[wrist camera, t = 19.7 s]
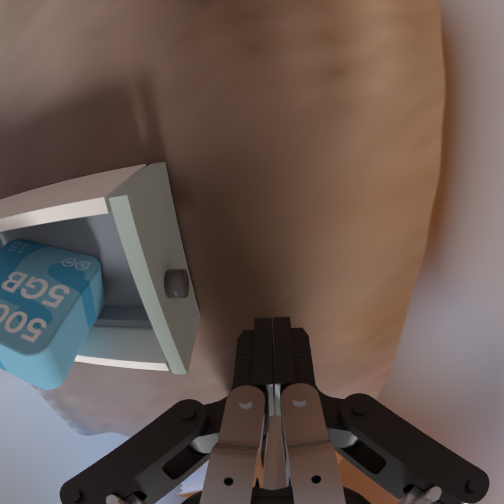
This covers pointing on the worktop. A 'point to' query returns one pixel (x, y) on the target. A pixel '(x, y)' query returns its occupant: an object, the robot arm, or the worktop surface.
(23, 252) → the data package
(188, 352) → the drawer
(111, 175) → the cubby
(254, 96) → the worktop surface
